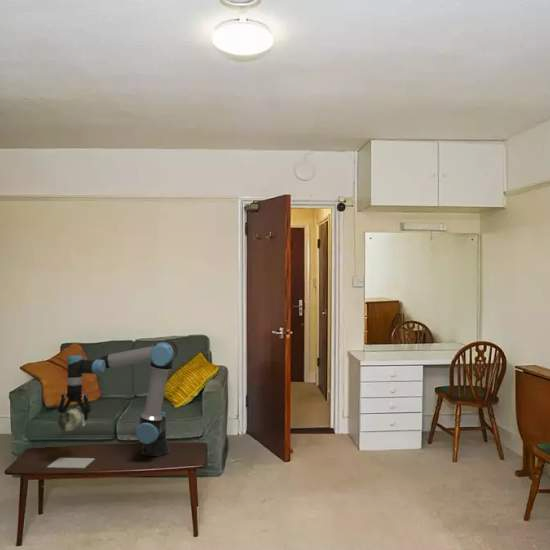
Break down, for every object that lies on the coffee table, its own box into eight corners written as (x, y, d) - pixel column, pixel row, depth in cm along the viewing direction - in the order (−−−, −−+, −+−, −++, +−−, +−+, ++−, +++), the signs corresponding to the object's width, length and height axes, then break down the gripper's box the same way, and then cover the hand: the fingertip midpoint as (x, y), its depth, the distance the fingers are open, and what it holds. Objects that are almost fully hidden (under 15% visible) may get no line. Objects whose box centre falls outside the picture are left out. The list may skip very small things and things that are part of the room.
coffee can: (56, 413, 277) (69, 406, 291) (59, 432, 276) (71, 425, 290) (75, 410, 276) (87, 404, 290) (78, 430, 276) (89, 423, 290)
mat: (95, 459, 286) (95, 458, 286) (84, 468, 272) (84, 467, 272) (59, 458, 288) (59, 457, 288) (46, 467, 274) (46, 466, 274)
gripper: (51, 385, 281) (50, 426, 281) (92, 386, 280) (91, 427, 280) (57, 382, 289) (57, 423, 289) (97, 383, 287) (97, 424, 287)
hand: (74, 425), depth 284 cm, fingers closed on coffee can, 10 cm apart
